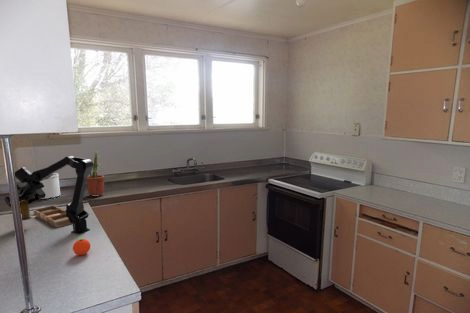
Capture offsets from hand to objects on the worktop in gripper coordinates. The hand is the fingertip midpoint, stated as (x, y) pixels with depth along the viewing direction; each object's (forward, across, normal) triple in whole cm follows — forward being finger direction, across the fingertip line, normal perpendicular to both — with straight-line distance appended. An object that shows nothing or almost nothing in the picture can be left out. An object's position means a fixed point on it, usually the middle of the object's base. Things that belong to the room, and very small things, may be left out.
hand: (20, 206), depth 161 cm
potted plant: (+19, -62, -2) cm, 65 cm away
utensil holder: (+41, -49, -24) cm, 68 cm away
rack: (+7, -18, +10) cm, 22 cm away
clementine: (-32, +12, +50) cm, 61 cm away
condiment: (+3, 0, +7) cm, 7 cm away
